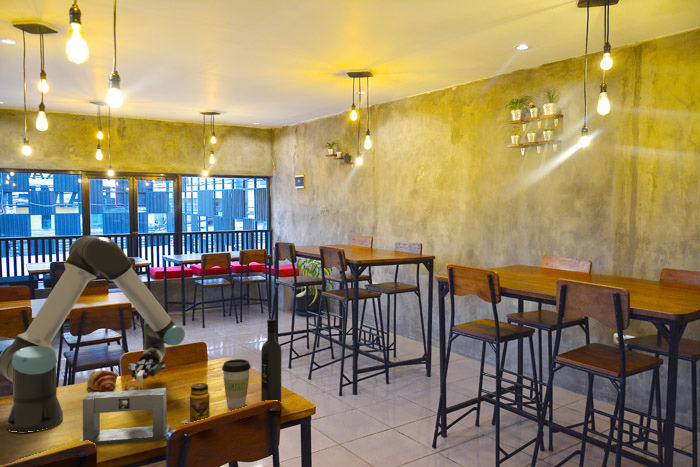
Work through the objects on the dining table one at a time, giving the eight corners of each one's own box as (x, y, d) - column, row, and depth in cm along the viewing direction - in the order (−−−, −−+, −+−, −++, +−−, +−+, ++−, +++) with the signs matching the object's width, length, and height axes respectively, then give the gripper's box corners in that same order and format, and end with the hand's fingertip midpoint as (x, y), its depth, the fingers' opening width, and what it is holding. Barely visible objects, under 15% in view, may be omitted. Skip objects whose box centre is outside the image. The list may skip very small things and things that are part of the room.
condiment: (199, 428, 158) (199, 390, 158) (179, 422, 162) (179, 385, 162) (215, 420, 164) (215, 383, 164) (196, 415, 168) (196, 379, 168)
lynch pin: (115, 412, 148) (114, 395, 148) (125, 395, 162) (125, 379, 162) (133, 411, 149) (133, 393, 149) (142, 394, 163) (142, 378, 163)
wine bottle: (268, 408, 174) (268, 322, 173) (260, 404, 178) (260, 319, 177) (282, 405, 178) (282, 320, 177) (273, 400, 182) (274, 317, 181)
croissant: (88, 389, 202) (77, 373, 200) (111, 373, 208) (101, 358, 205) (101, 404, 186) (90, 387, 183) (127, 386, 191) (116, 369, 189)
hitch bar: (78, 446, 145) (77, 401, 144) (86, 435, 152) (85, 391, 152) (166, 439, 150) (166, 395, 149) (170, 428, 158) (170, 386, 157)
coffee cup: (215, 407, 175) (215, 364, 175) (234, 398, 184) (234, 357, 184) (238, 412, 171) (238, 368, 170) (256, 403, 180) (256, 361, 179)
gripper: (132, 351, 191) (117, 370, 168) (168, 349, 194) (159, 367, 171) (132, 371, 191) (117, 392, 168) (168, 369, 194) (159, 389, 171)
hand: (138, 380), depth 170 cm, fingers closed
